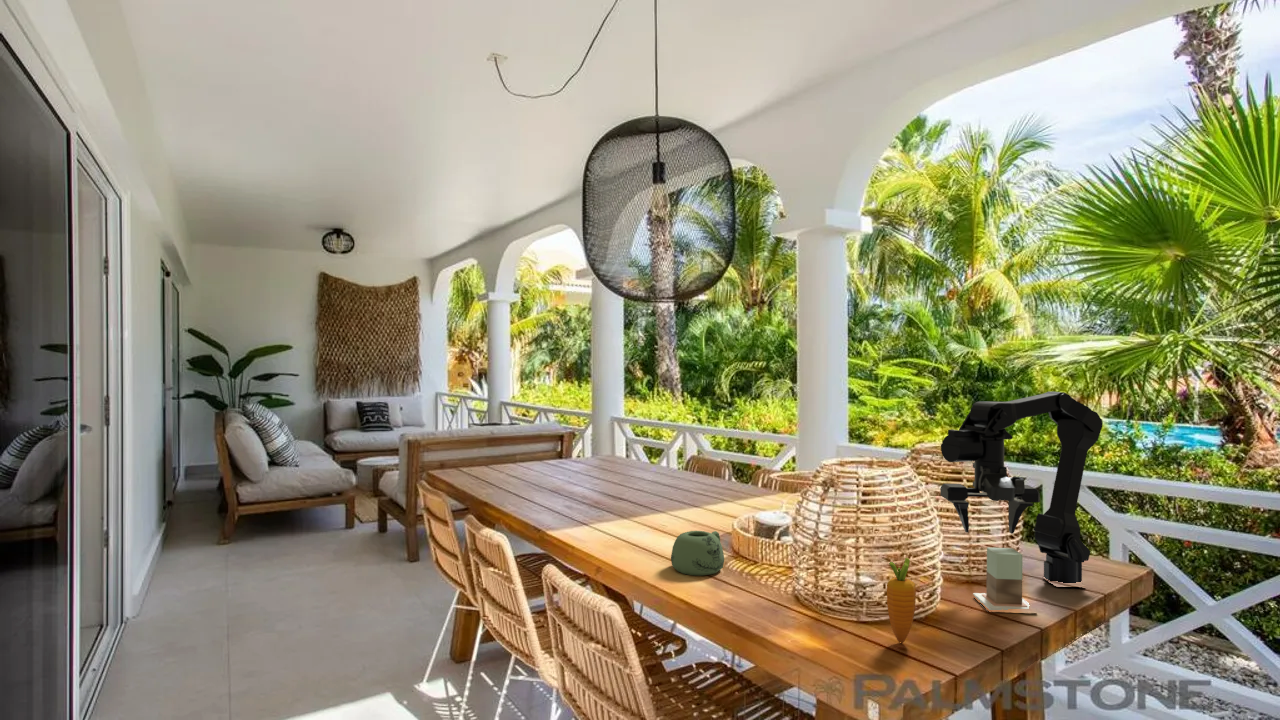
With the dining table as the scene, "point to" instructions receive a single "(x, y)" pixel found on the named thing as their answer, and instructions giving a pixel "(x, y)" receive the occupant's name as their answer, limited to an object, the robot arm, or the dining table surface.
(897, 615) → the carrot
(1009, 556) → the sage block
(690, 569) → the green animal planter
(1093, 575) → the dining table surface
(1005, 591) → the walnut block
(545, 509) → the dining table surface
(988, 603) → the bordered square coaster
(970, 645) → the dining table surface
